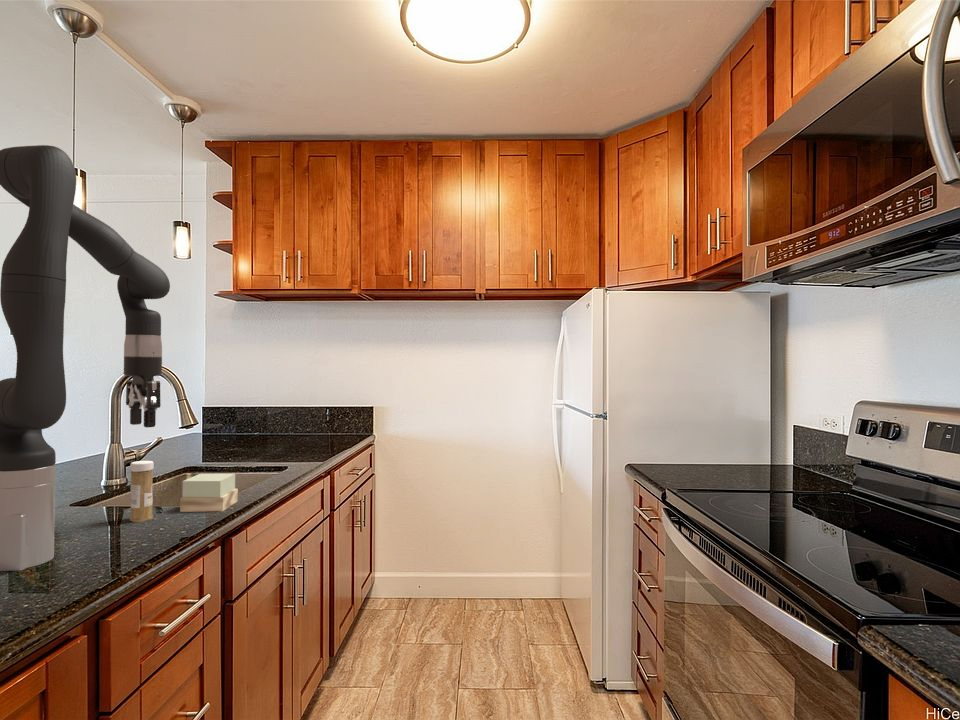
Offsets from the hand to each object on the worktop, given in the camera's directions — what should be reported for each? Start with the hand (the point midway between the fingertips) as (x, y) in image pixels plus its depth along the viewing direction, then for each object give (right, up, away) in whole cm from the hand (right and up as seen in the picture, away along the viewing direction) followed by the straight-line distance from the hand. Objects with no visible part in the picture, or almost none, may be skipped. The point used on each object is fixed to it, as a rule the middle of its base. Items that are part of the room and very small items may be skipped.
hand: (142, 425), depth 128 cm
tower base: (+10, -22, +12) cm, 27 cm away
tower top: (+10, -18, +12) cm, 24 cm away
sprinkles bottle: (0, -22, 0) cm, 22 cm away
